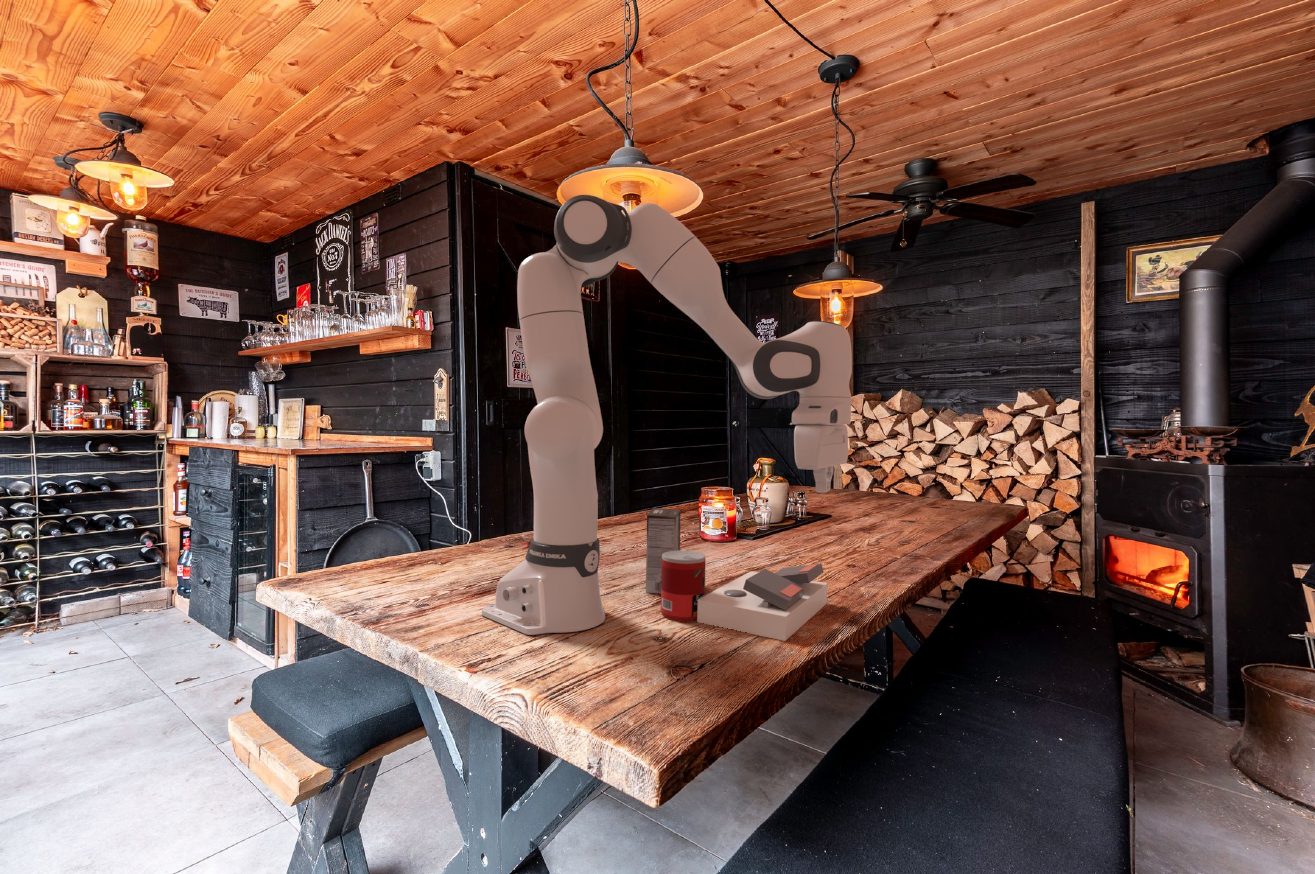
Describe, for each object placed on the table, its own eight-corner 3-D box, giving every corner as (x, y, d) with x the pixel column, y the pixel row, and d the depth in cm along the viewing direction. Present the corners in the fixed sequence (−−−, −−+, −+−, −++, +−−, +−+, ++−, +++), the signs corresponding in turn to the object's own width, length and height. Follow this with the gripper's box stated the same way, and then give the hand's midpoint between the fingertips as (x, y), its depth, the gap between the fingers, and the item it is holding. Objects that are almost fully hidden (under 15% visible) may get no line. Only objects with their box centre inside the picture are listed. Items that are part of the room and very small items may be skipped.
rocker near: (742, 588, 104) (746, 578, 104) (762, 577, 112) (765, 568, 112) (785, 610, 101) (788, 599, 100) (802, 597, 108) (805, 587, 108)
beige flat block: (697, 622, 106) (697, 593, 106) (750, 590, 127) (751, 566, 127) (785, 641, 98) (785, 610, 98) (826, 603, 119) (827, 578, 118)
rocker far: (768, 587, 114) (766, 576, 114) (784, 576, 121) (782, 567, 122) (809, 582, 110) (806, 572, 110) (823, 572, 117) (821, 562, 117)
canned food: (701, 623, 106) (702, 561, 105) (656, 619, 107) (657, 558, 107) (706, 610, 113) (708, 551, 113) (664, 606, 115) (665, 549, 114)
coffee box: (651, 581, 132) (652, 507, 132) (680, 582, 132) (681, 508, 131) (644, 593, 123) (645, 514, 123) (675, 594, 123) (677, 515, 122)
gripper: (824, 414, 118) (822, 485, 118) (788, 413, 101) (786, 496, 101) (857, 415, 115) (855, 487, 115) (825, 413, 97) (823, 499, 98)
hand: (823, 492), depth 108 cm, fingers closed
